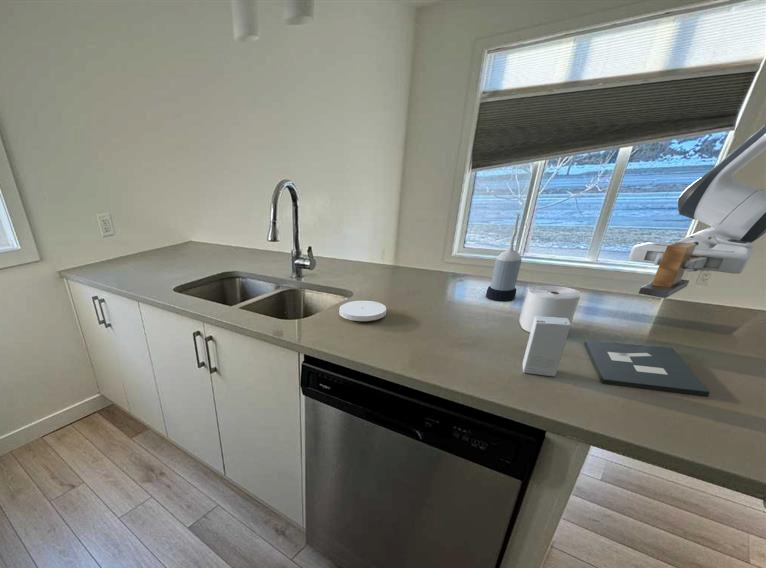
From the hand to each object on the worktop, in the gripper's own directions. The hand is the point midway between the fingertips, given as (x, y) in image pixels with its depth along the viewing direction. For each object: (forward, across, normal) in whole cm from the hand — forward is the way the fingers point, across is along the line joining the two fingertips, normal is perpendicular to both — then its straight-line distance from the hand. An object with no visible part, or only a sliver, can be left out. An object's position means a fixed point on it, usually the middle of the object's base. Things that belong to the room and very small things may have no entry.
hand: (672, 263), depth 93 cm
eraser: (-1, 0, +6) cm, 7 cm away
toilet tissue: (+15, -16, +17) cm, 28 cm away
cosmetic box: (+39, -5, +17) cm, 43 cm away
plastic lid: (+42, -55, +17) cm, 71 cm away
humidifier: (0, -37, +17) cm, 41 cm away
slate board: (+22, +7, +17) cm, 28 cm away
